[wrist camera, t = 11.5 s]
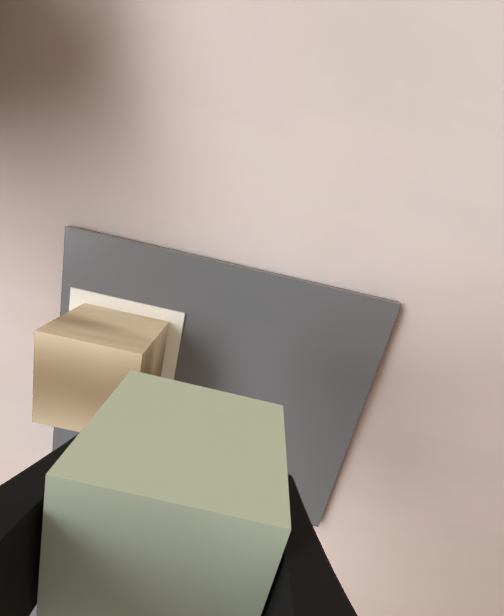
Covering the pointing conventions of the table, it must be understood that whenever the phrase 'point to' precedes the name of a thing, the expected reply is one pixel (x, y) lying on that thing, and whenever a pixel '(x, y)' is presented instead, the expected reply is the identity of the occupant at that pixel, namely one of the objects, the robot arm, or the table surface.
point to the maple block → (90, 361)
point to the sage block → (166, 506)
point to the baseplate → (246, 339)
